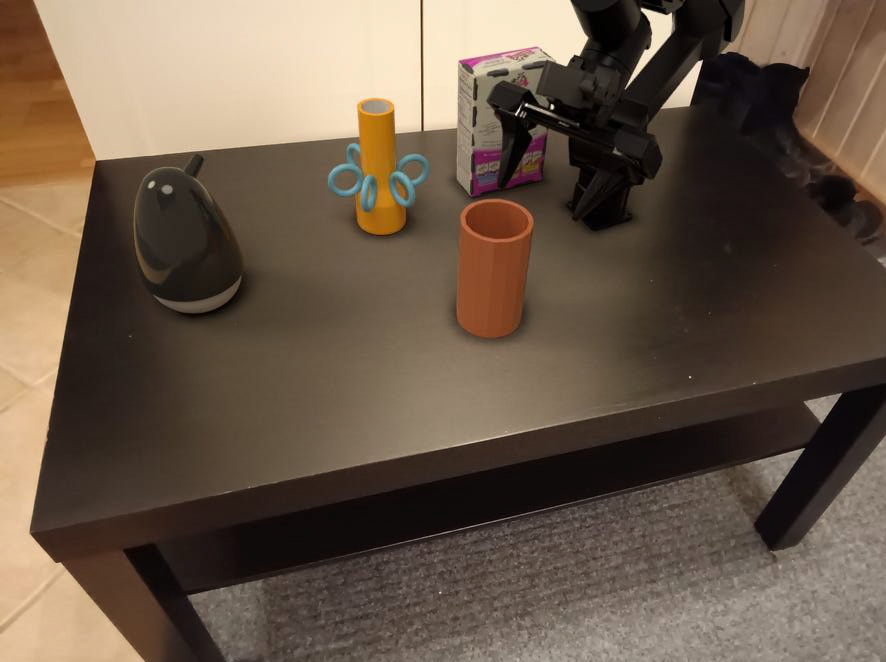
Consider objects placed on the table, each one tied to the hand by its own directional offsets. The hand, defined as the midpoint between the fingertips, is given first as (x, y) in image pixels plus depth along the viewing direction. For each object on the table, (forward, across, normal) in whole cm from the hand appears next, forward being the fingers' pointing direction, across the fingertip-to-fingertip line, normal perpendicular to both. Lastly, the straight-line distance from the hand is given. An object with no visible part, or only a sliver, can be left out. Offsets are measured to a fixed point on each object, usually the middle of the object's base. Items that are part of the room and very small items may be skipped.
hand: (536, 204), depth 73 cm
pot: (+13, 0, +2) cm, 13 cm away
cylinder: (+9, -20, +6) cm, 23 cm away
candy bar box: (-4, -14, +18) cm, 23 cm away
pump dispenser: (+25, -26, -10) cm, 37 cm away
